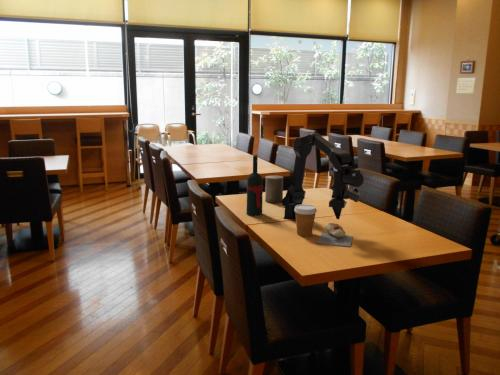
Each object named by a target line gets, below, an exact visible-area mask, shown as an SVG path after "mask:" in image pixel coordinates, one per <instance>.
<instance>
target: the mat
mask: <svg viewBox="0 0 500 375" xmlns="http://www.w3.org/2000/svg"><path fill="white" fill-rule="evenodd" d="M352 241H353V235H346V234H345V235H344V236H343V237H341V238H337V237H335V236H333V235H331V234H330V233H329V232H328V233H327V232H321V234H320V236H319V238H318V239H317V242H316V244H320V245H327V246H337V247H345V248H350V247H351V244H352Z"/></svg>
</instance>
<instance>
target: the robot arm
mask: <svg viewBox="0 0 500 375" xmlns="http://www.w3.org/2000/svg"><path fill="white" fill-rule="evenodd" d="M314 146H315V147H316V148H317V149H319V150H320V151H321V152H323V154H325V155H326V156H327V157H328V161H329V163H330V164H331V165H332V167H330V169H329V171H332V172H333V174H332V175H333V176H332V184H331V188H332V190H331V191H332V192H331V193H332V195H331V198H330V200H329V201H328V208H332V211H333V213H334V216H335V218H336V220H340V219H341V218H340V217H341V214H342V211H343V209H345V207H346V205H347V203H348V202H347V201H346V200H350V201H353V202H354V203H358V201H359V199H360V197H361V192H359V188H360V187H361V186H362V185H363V184H364V180H365V179H364V178H365V177H364V175H363V174H362V173H361V169H357V168H356V165H355V163H354V161H353V158H352V155H351V154H350V153H349V152H348V151H346V150H344V149H340V148H338V147H336V146H335V145H333V144H332V143H331V142H330V141H329V140H328V139H326V138H324V137H323V136H322V135H321V134H320V133H317V132H315V133H310V134H307V135H305V136H302V137H296V138H295V139H294V140H293V152H294V154H295V157H294V158H295V160H294V165H293V166H294V167H293V171H292V172H293V173H292V179H291V184H290V186H289V187H288V188H287V190H286V194H285V196H284V197H283V200H282V202H281V205H282V206H284V216H283V219H286V220H287V219H288V220H296V215H295V211H294V209H295V206H296V205H301V204H303V203H304V199H305V198H306V197H305V196H306V190H304V188H303V182H304V176H305V169H306V165H307V164H306V163H307V158H308V156H309V155H310V153H311V152H312V149H313V147H314ZM349 186H351V187H354V188H353V189H352V188H349Z"/></svg>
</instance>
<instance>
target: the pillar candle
mask: <svg viewBox="0 0 500 375" xmlns="http://www.w3.org/2000/svg"><path fill="white" fill-rule="evenodd" d="M264 189H265V190H264V191H265V192H264V193H265V197H264V200H265V201H264V202H266V203H269V204H279V203H281V204H282V200H283V198H284V197H283V196H284V176H282V175H275V174H274V175H266V176H265V188H264Z"/></svg>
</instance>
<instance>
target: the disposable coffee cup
mask: <svg viewBox="0 0 500 375" xmlns="http://www.w3.org/2000/svg"><path fill="white" fill-rule="evenodd" d="M294 211H295V215H296V219H295V224H296V225H295V226H296V234H297V235H298V236H301V237H310V236H312V235H313V230H314V224H315V218H316V213H317V212H318V209H317V208H316V206H315V205H313V204H307V203H306V204H304V203H302V204H301V205H296V206H295V209H294Z"/></svg>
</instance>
